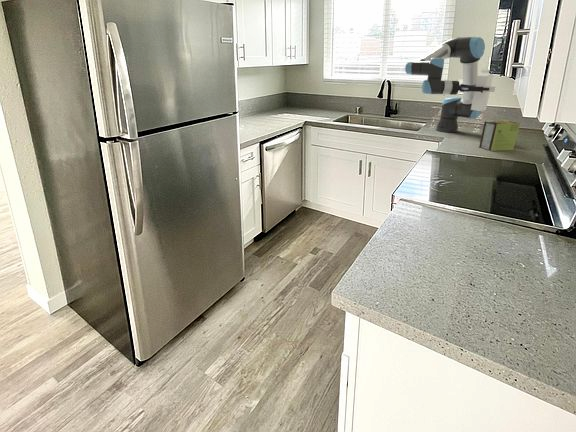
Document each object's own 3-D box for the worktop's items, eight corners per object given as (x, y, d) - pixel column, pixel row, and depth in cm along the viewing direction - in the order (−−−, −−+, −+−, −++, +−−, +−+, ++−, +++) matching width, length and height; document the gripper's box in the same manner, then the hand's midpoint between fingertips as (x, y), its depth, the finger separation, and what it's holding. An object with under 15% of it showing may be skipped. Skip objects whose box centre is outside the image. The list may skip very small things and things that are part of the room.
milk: (480, 111, 213) (489, 70, 204) (470, 109, 218) (478, 69, 209) (485, 110, 217) (494, 69, 208) (475, 109, 221) (484, 69, 212)
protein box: (513, 150, 216) (520, 123, 210) (490, 151, 213) (496, 123, 207) (500, 146, 225) (507, 120, 219) (478, 147, 222) (484, 120, 216)
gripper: (444, 92, 225) (482, 93, 223) (454, 96, 206) (497, 97, 204) (446, 79, 222) (485, 80, 220) (457, 81, 203) (500, 82, 201)
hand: (491, 88), depth 212 cm, fingers closed on milk, 8 cm apart
